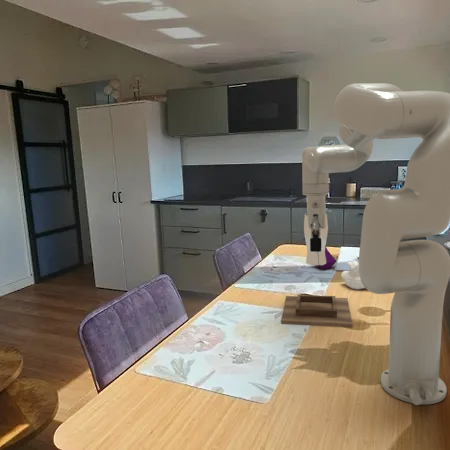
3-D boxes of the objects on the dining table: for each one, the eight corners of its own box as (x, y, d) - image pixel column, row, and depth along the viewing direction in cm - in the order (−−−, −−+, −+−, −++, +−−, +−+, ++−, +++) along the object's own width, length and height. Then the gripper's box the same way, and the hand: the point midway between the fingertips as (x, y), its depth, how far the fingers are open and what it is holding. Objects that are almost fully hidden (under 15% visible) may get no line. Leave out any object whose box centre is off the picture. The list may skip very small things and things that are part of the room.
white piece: (328, 266, 119) (328, 215, 117) (304, 265, 121) (303, 216, 118) (327, 259, 126) (327, 212, 123) (304, 259, 127) (303, 212, 125)
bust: (340, 290, 149) (332, 272, 143) (347, 274, 153) (339, 255, 146) (372, 297, 142) (365, 278, 135) (379, 279, 145) (372, 260, 139)
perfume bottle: (311, 267, 172) (310, 225, 169) (325, 264, 176) (325, 223, 172) (322, 271, 166) (322, 228, 162) (336, 268, 169) (337, 226, 165)
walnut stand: (352, 327, 115) (352, 317, 114) (281, 323, 119) (280, 313, 118) (347, 300, 134) (347, 292, 133) (286, 298, 138) (286, 290, 138)
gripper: (329, 192, 110) (329, 256, 113) (327, 186, 127) (328, 241, 130) (301, 192, 112) (302, 255, 115) (303, 186, 128) (304, 241, 132)
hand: (315, 247), depth 123 cm, fingers closed on white piece, 6 cm apart
